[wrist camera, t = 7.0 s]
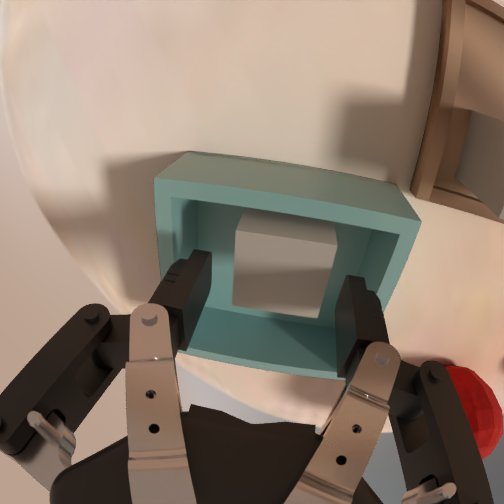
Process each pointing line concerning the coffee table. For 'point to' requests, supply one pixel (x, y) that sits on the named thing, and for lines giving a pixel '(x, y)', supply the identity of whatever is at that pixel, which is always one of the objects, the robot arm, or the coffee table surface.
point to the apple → (478, 407)
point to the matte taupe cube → (282, 262)
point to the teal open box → (291, 202)
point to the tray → (461, 99)
